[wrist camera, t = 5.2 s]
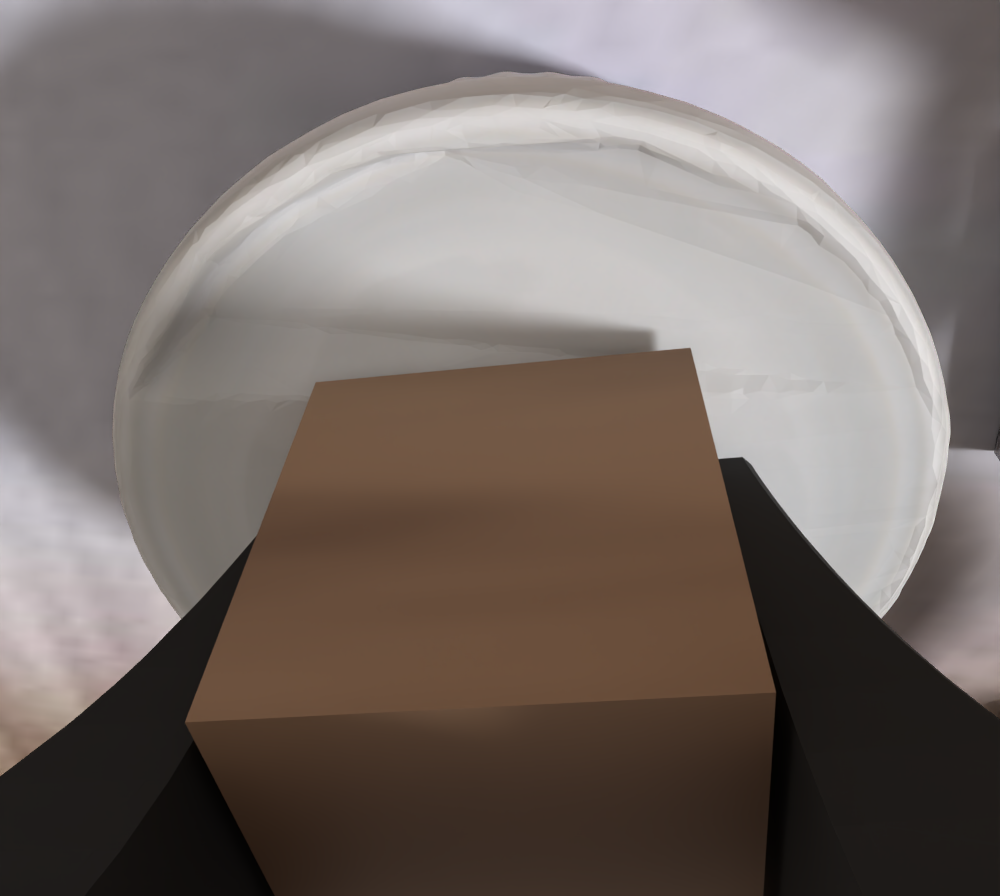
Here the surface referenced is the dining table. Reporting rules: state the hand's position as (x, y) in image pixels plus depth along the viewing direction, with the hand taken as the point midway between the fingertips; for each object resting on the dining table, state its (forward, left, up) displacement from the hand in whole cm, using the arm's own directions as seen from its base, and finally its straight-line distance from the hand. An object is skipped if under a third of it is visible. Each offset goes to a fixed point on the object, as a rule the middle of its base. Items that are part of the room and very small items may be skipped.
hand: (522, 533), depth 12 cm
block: (0, 0, 0) cm, 0 cm away
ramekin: (0, 0, -6) cm, 6 cm away
